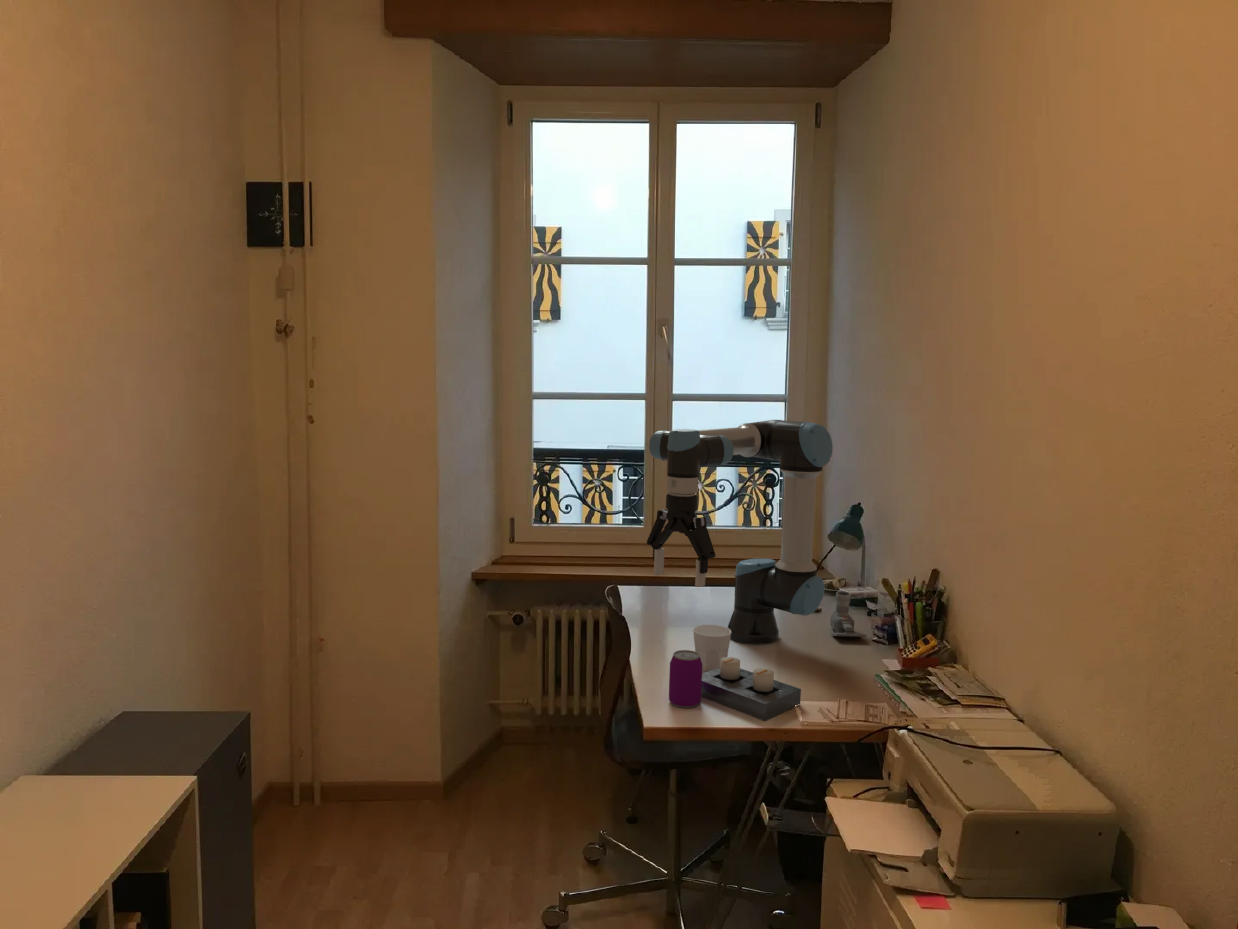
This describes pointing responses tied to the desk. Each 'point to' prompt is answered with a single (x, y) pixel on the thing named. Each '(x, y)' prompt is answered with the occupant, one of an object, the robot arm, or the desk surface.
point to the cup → (711, 644)
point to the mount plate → (749, 694)
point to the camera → (843, 617)
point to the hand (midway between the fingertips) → (678, 580)
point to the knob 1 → (729, 668)
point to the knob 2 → (763, 679)
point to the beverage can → (685, 679)
